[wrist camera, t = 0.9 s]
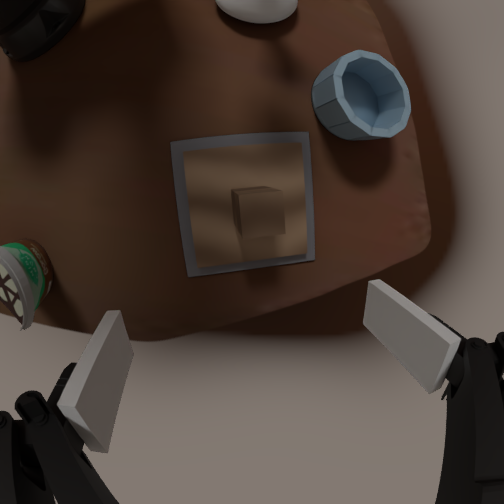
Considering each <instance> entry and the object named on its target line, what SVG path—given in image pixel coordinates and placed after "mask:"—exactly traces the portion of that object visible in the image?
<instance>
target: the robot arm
mask: <svg viewBox="0 0 504 504" xmlns="http://www.w3.org/2000/svg"><path fill="white" fill-rule="evenodd" d="M84 3H85V0H0V46H1V47H2V49H3V51H4V53H5V54H6V55H7V56H8V57H9V58H12V59H14V60H16V61H19V62H24V61H29V60H31V59H34V58H36V57H38V56H40V55H41V54H43V53H45V52H46V51H47V50H49V49H50V48H51V47H53V46H54V45H55V44H56V43H57V42H58V41H59V40H61V39H62V38H63V37H64V35H65V34H66V33H67V32H68V31H69V30H70V29H71V27H72V26H73V25H74V23H75V22H76V21H77V19H78V17H79V16H80V14H81V12H82V9H83V7H84ZM363 324H364V325H365V326H366V327H367V328H368V329H369V330H370V332H371V333H372V334H373V335H374V336H376V338H377V339H378V340H379V341H380V342H381V343H382V344H383V345H384V346H385V347H386V348H387V349H388V350H389V351H390V352H391V353H392V354H393V355H394V357H395V358H396V359H397V360H398V361H399V362H400V363H401V364H402V365H403V366H404V367H405V368H406V369H407V370H408V372H409V373H410V374H411V375H412V376H413V377H414V378H415V379H416V380H417V381H418V382H419V383H420V385H421V386H422V387H423V388H424V389H425V390H426V391H427V392H428V393H429V394H431V393H433V392H434V391H436V390H438V389H440V388H441V386H442V384H443V382H444V380H445V378H446V379H447V380H448V381H449V383H448V385H447V387H446V390H445V391H444V394H443V396H442V398H441V400H443V399H444V397H445V396H446V395H447V399H446V400H447V420H446V437H445V448H444V457H443V464H442V471H441V477H440V484H439V488H438V493H437V498H436V502H435V504H504V380H503V378H502V375H503V373H504V332H500V333H499V334H497V337H496V339H495V342H493V343H487V342H486V341H484V340H482V339H480V338H469V339H468V340H467V339H466V338H464V337H463V336H462V335H460V334H459V333H458V332H457V331H455V330H454V329H453V328H451V327H449V326H448V325H447V324H446V323H443V321H442V320H440V319H439V318H437V317H436V316H434V315H431V314H429V313H426V312H425V311H424V310H422V309H421V308H420V307H418V306H417V305H415V304H414V303H413V302H411V301H410V300H408V299H407V298H406V297H404V296H403V295H401V294H400V293H398V292H397V291H396V290H394V289H393V288H391V287H390V286H389V285H387V284H386V283H384V282H383V281H381V280H380V279H378V280H373V281H369V283H368V291H367V299H366V306H365V313H364V320H363ZM133 355H134V353H133V350H132V347H131V344H130V341H129V338H128V335H127V332H126V328H125V325H124V321H123V318H122V314H121V311H120V310H114V311H107V312H106V313H105V315H104V317H103V318H102V320H101V322H100V323H99V325H98V327H97V329H96V330H95V332H94V334H93V335H92V337H91V339H90V341H89V343H88V345H87V346H86V348H85V350H84V352H83V353H82V356H81V357H80V359H79V361H78V363H71V364H69V365H68V366H67V367H66V368H65V369H64V370H63V372H62V374H61V376H60V379H58V381H57V383H56V386H55V387H54V389H53V391H52V393H51V395H50V397H49V399H48V401H47V402H46V400H45V399H44V397H43V396H42V394H41V393H40V392H38V391H27V392H25V393H23V394H21V395H20V396H19V397H18V399H17V400H16V402H15V410H16V411H17V413H18V414H19V415H20V417H21V418H22V419H23V420H14V419H13V418H12V416H11V415H10V414H9V413H8V412H6V411H0V504H55V500H54V496H55V498H56V500H57V502H58V504H119V503H118V501H117V500H116V499H115V498H114V496H113V495H112V494H111V492H110V491H109V489H108V488H107V487H106V485H105V484H104V482H103V481H102V479H101V478H100V476H99V475H98V473H97V472H96V470H95V469H94V467H93V466H92V464H91V462H90V461H89V459H88V457H87V456H86V454H85V453H84V452H83V451H82V449H83V445H84V443H85V444H86V446H87V447H88V448H89V449H90V450H91V451H95V452H101V453H108V449H109V445H110V440H111V436H112V432H113V428H114V423H115V419H116V415H117V411H118V407H119V404H120V400H121V396H122V392H123V389H124V385H125V381H126V378H127V375H128V371H129V368H130V365H131V362H132V358H133ZM53 494H54V496H53Z"/></svg>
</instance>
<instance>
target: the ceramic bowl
mask: <svg viewBox="0 0 504 504" xmlns="http://www.w3.org/2000/svg"><path fill="white" fill-rule="evenodd" d="M311 101H312V106H313V109H314V112H315V114H316V116H317V118H318V119H319V121H320V122H321V124H322V125H323V126H324V127H325V128H326V129H327V130H328V131H329V132H331V133H332V134H334V135H335V136H337V137H339V138H342V139H346V140H372V139H381V138H390V137H392V136H394V135H395V134H397V133H398V132H400V131H401V130H402V129H404V128H405V127H406V124H407V121H408V118H409V115H410V112H411V110H410V109H411V105H410V98H409V91H408V89H407V86H406V84H405V82H404V81H403V79H402V77H401V75H400V74H399V72H398V70H397V69H396V68H395V67H394V66H393V65H392V64H390V63H389V62H388V61H387V60H385V59H384V58H383V57H381V56H380V55H378V54H375V53H371V52H367V51H363V50H356V51H354V52H351V53H349V54H346V55H344V56H342V57H340V58H339V59H337V60H336V61H335V62H333V63H332V64H331V65H329V66H328V67H326V68H325V69H324V70H322V71H321V72H320V74H319V75H318V77H317V78H316V79H315V81H314V83H313V86H312V90H311Z"/></svg>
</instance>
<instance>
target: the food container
mask: <svg viewBox="0 0 504 504" xmlns="http://www.w3.org/2000/svg"><path fill="white" fill-rule="evenodd" d="M52 283H53V268H52V265H51V261H50V259H49V256H48V254H47V253H46V251H45V250H44V248H43V247H42V246H41V245H40V244H39V243H37V242H36V241H34V240H31V239H22V240H19V241H15V242H12V243H9V244H6V245H3V246H0V300H1V301H2V303H3V304H4V305H5V306H6V307H7V308H8V309H9V310H10V311H11V312H12V313H13V315H14V316H15V317H16V318H17V319H18V321H19V322H20V323H21V324H22V328H21V330H22V329H24V330H25V329H27V328H28V327H30V326H31V324H32V322H33V319H34V312H35V310H36V309H37V307H38V306H39V305H40V303H41V302H42V301H43V299H44V298H45V297H46V295H47V294H48V293H49V291H50V289H51V287H52ZM21 330H20V331H21Z"/></svg>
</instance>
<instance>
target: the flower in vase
mask: <svg viewBox="0 0 504 504" xmlns="http://www.w3.org/2000/svg"><path fill="white" fill-rule="evenodd" d="M215 1H216V3H217V5H218V6H219V7H220V8H221V9H222V10H223V11H224V12H226V13H227V14H229V15H230V16H232V17H234V18H237V19H239V20H242V21H246V22H251V23H273V22H278V21H281V20H283V19H285V18H287V17H289V16H290V15H291V14H292V13H293V12H294V11H295V9H296V7H297V4H298V0H215Z"/></svg>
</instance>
